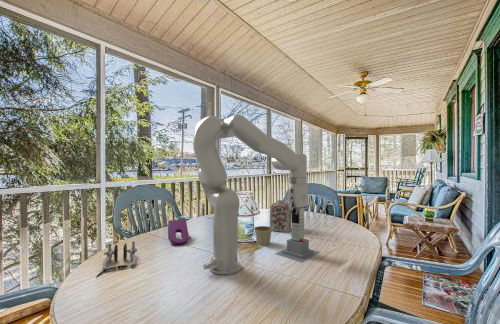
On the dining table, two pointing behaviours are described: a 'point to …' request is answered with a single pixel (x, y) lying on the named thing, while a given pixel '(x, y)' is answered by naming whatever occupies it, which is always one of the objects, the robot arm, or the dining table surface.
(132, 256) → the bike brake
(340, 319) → the dining table surface
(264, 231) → the flower pot
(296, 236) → the column
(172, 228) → the mounting bracket
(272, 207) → the decorative jar
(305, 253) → the stand base
